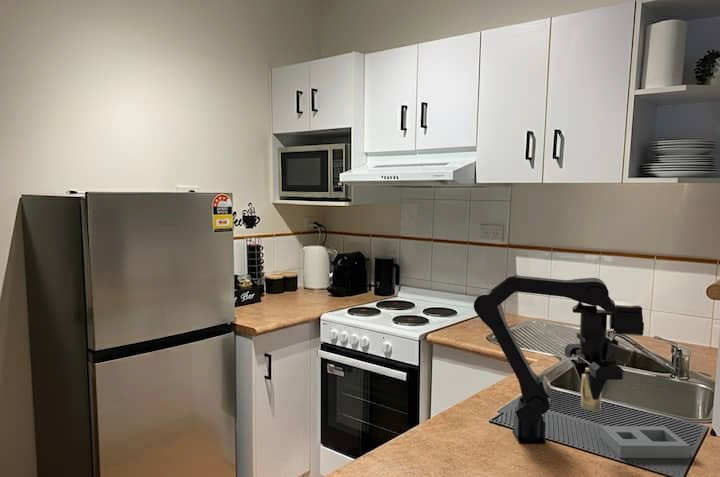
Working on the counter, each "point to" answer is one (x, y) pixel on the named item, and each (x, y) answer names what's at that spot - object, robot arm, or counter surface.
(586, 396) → the brass fitting
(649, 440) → the socket block
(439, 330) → the counter surface
